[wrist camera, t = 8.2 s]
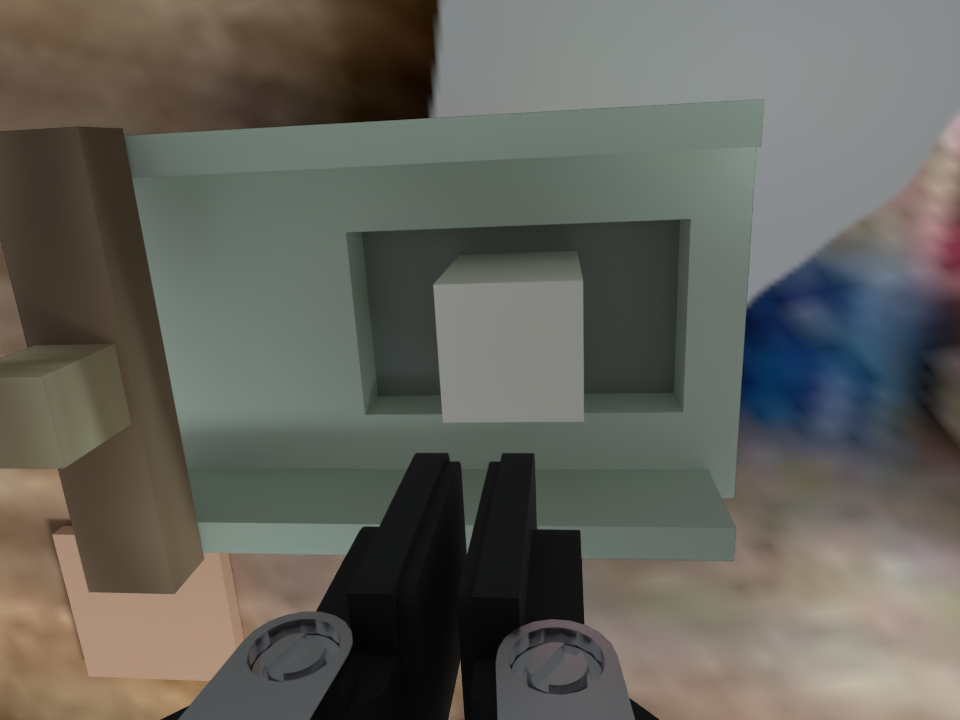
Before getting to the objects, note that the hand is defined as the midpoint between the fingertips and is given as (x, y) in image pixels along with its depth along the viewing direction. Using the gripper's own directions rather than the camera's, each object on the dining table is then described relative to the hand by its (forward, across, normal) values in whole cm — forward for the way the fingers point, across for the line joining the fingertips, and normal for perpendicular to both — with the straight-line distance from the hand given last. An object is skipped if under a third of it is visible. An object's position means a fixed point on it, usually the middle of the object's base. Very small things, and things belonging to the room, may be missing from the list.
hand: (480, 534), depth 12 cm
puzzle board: (+17, +5, 0) cm, 17 cm away
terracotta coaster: (+17, +18, +14) cm, 28 cm away
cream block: (+16, 0, 0) cm, 16 cm away
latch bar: (+10, +13, 0) cm, 16 cm away
